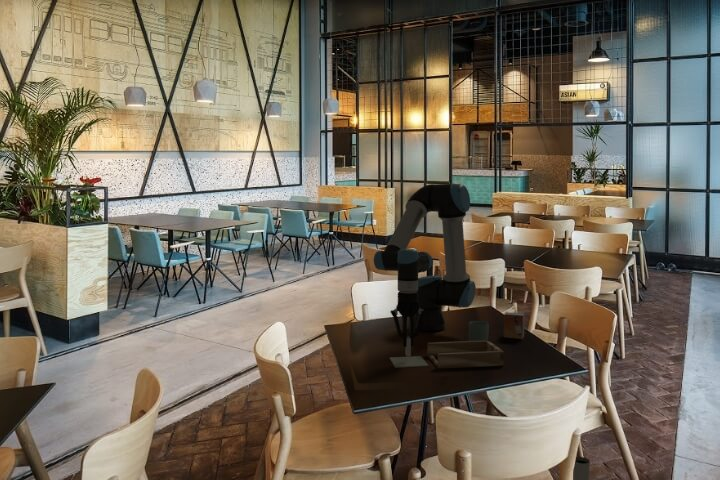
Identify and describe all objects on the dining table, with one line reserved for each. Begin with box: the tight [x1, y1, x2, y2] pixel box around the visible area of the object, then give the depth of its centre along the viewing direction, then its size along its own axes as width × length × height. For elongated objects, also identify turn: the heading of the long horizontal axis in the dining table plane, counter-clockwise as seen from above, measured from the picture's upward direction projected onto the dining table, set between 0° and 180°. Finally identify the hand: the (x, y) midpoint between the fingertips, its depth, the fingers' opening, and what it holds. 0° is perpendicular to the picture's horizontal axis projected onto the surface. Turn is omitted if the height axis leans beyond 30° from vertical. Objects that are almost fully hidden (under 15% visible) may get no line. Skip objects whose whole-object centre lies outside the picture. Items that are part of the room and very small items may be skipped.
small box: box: [503, 311, 526, 340], centre depth 252 cm, size 8×6×10 cm
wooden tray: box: [426, 339, 505, 369], centre depth 219 cm, size 17×24×5 cm
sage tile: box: [389, 355, 429, 369], centre depth 218 cm, size 12×12×1 cm
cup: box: [468, 320, 490, 341], centre depth 237 cm, size 8×8×10 cm
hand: (408, 355), depth 217 cm, fingers closed
